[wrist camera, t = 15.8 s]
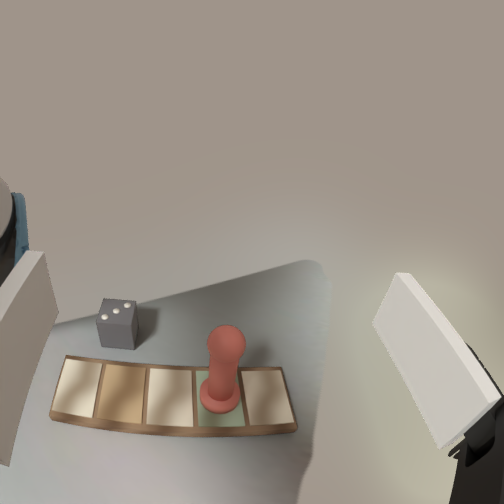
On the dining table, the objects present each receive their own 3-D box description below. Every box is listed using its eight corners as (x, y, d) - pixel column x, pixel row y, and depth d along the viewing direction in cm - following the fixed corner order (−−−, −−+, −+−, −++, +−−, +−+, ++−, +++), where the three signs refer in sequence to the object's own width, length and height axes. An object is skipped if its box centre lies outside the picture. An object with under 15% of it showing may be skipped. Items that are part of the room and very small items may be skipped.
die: (101, 346, 40) (95, 321, 37) (107, 323, 44) (103, 297, 42) (134, 349, 41) (130, 324, 38) (138, 325, 45) (135, 300, 43)
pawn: (200, 413, 33) (203, 349, 27) (199, 381, 37) (202, 312, 31) (240, 413, 34) (256, 350, 27) (236, 382, 38) (250, 314, 31)
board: (52, 420, 28) (48, 414, 27) (68, 360, 36) (65, 353, 35) (294, 432, 34) (297, 427, 33) (279, 371, 42) (281, 365, 41)
